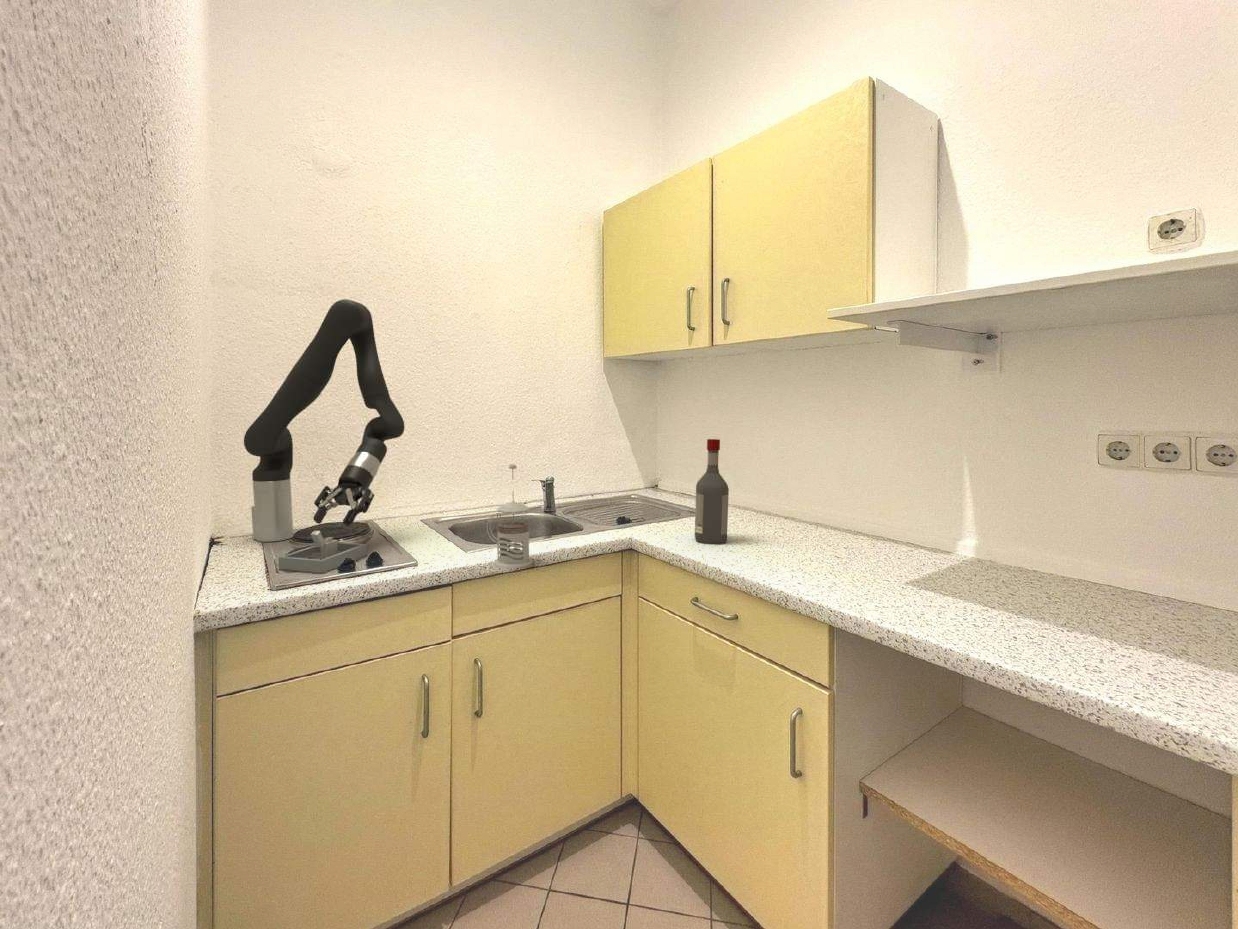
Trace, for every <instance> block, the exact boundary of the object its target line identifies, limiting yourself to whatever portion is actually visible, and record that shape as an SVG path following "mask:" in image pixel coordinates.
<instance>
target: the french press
mask: <svg viewBox="0 0 1238 929" xmlns="http://www.w3.org/2000/svg"><path fill="white" fill-rule="evenodd" d="M508 469H510V470H511V471H512V478H511V479H514V470H516V469H517V465H516V464H514V463H510V464H509V466H508ZM514 497H515V496H514V492H512V501H511V502H506V503H504V504H501V505H500V506H498V507H497V508H496V511H497V513H495V514H493V515H492V516H490V517H489V518H488V521H487V524H486V531H487V535H488V537H489V538H490V539H491V541H493V542H495V544H496V546H497V548H496V550H497V552H496V553H497V559H496V560H495V561H494V562H493V565H494V566H496V567H498V568H504V569H516V568H517V569H518V568H524V567H528V566H530V565H532V564H533V562H534V560H533V559H532V558H531V557H530V530H529V529H528V528H527V527H528V523H527V522H524V521H515V514H522V513H523V514H524V513H528V512H529V511H530V507H529V506H527V505H526V504H524V503H521V502H515V501H514ZM501 513H503V514H512V521H506V522H505V521H504V522H501V523H499V524H498V527H499V528H500V529H499V530H497V537H495V535H494V534H493V532H492V528H491V527H492V520H493V519H494V517H495V516H496V518H497V520H500V519H501V518H502V517H501ZM489 531H490V533H489ZM513 532H519V533H513ZM510 533H512V534H510ZM490 534H491V535H490ZM491 536H492V537H493V538H492V537H491ZM494 539H495V540H494ZM512 542H513V543H512ZM511 547H513V548H511Z"/></svg>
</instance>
